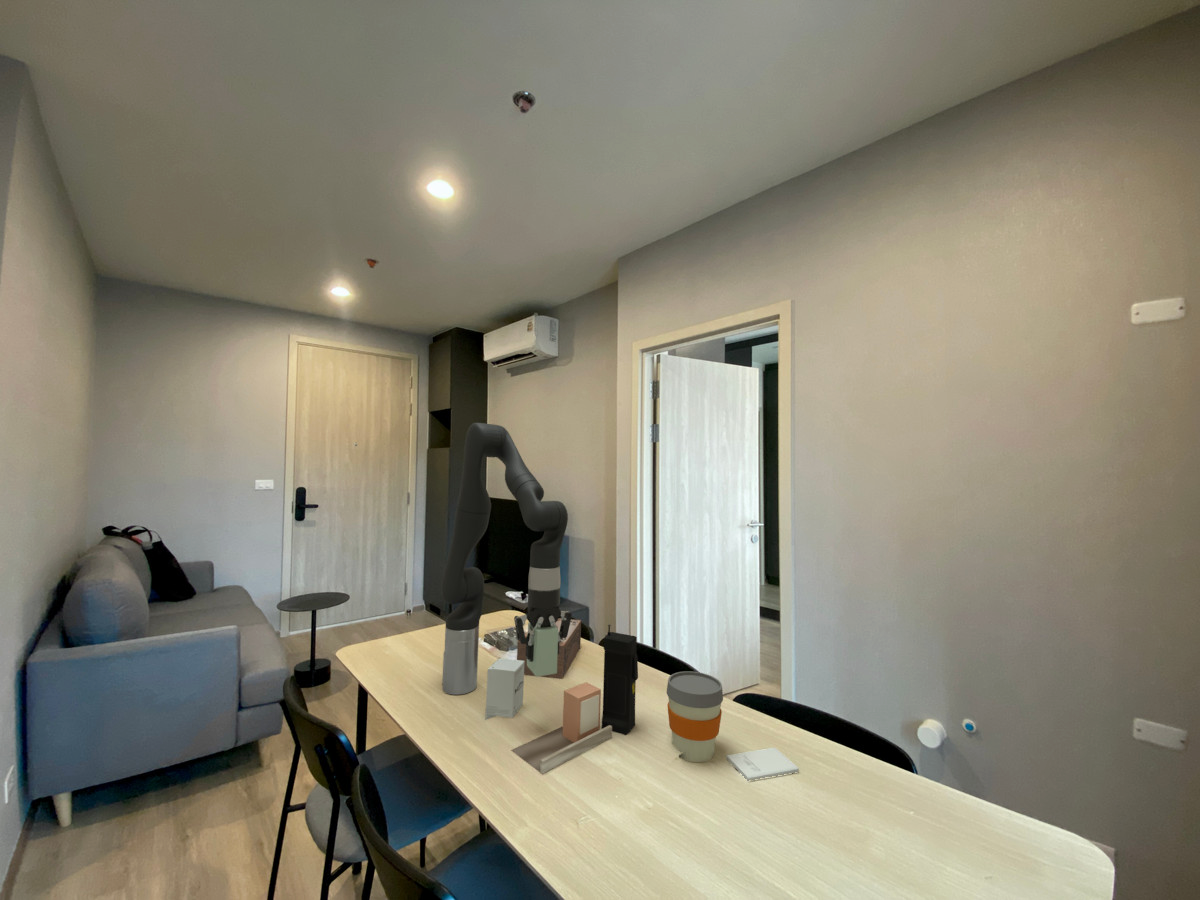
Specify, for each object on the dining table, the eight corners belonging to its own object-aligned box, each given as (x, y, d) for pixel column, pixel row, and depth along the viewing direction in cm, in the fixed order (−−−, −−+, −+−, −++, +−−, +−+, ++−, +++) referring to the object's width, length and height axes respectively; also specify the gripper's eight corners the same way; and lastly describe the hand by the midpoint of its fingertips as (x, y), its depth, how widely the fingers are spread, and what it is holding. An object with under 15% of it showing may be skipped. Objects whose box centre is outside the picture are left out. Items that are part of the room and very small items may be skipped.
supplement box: (512, 724, 116) (514, 671, 117) (484, 720, 117) (486, 668, 118) (523, 710, 123) (525, 660, 124) (496, 706, 125) (498, 657, 125)
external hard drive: (798, 775, 100) (747, 785, 97) (773, 753, 108) (725, 761, 104) (798, 767, 100) (747, 776, 97) (773, 746, 108) (725, 753, 105)
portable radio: (640, 730, 115) (642, 625, 116) (630, 743, 109) (633, 632, 111) (610, 722, 118) (613, 620, 119) (599, 734, 113) (603, 627, 114)
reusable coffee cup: (711, 774, 99) (712, 700, 99) (656, 754, 105) (657, 685, 106) (729, 746, 109) (730, 679, 110) (678, 729, 116) (679, 666, 117)
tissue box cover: (562, 679, 142) (563, 645, 143) (516, 675, 145) (517, 641, 145) (580, 649, 168) (581, 620, 168) (540, 645, 170) (541, 617, 171)
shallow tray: (510, 757, 103) (511, 738, 103) (579, 724, 117) (579, 708, 117) (542, 781, 95) (542, 761, 95) (611, 743, 109) (612, 726, 109)
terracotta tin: (562, 735, 109) (563, 690, 110) (584, 724, 114) (586, 682, 114) (577, 745, 105) (579, 698, 106) (600, 733, 110) (601, 689, 111)
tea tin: (536, 676, 108) (537, 631, 108) (526, 665, 114) (528, 622, 114) (557, 673, 110) (558, 628, 110) (547, 662, 116) (548, 620, 117)
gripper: (566, 580, 119) (564, 649, 119) (510, 584, 113) (508, 657, 112) (578, 586, 113) (576, 659, 112) (519, 591, 106) (516, 669, 106)
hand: (542, 658), depth 112 cm, fingers closed on tea tin, 5 cm apart
